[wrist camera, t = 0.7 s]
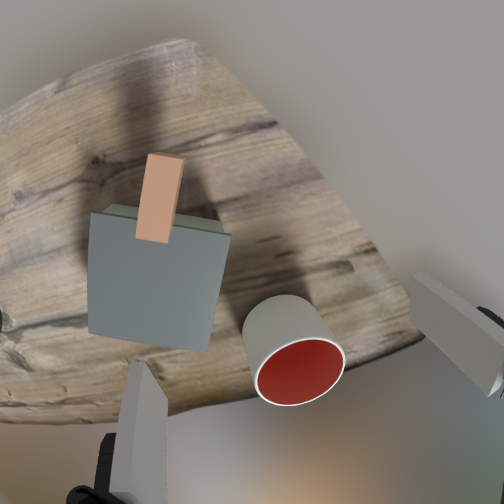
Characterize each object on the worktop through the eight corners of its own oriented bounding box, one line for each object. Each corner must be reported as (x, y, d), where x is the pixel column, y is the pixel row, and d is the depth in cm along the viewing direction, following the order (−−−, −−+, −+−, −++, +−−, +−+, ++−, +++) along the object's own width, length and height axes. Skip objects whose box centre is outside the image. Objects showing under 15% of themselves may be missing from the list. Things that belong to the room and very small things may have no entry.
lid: (92, 325, 29) (75, 361, 23) (104, 144, 23) (79, 145, 18) (206, 344, 32) (209, 383, 26) (244, 167, 26) (257, 174, 21)
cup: (238, 295, 37) (252, 346, 27) (317, 285, 38) (351, 328, 29) (243, 359, 40) (256, 413, 31) (313, 347, 41) (339, 395, 32)
